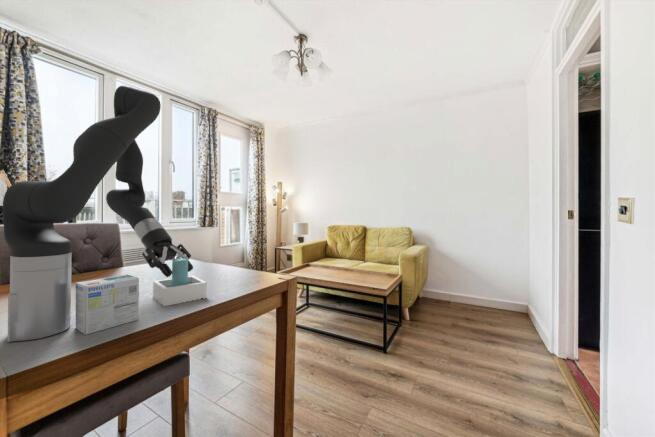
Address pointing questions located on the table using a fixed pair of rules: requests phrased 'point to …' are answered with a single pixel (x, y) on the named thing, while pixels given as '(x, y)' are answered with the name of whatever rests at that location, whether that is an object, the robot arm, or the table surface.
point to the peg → (179, 272)
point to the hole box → (179, 291)
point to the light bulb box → (106, 303)
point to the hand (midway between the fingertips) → (181, 272)
